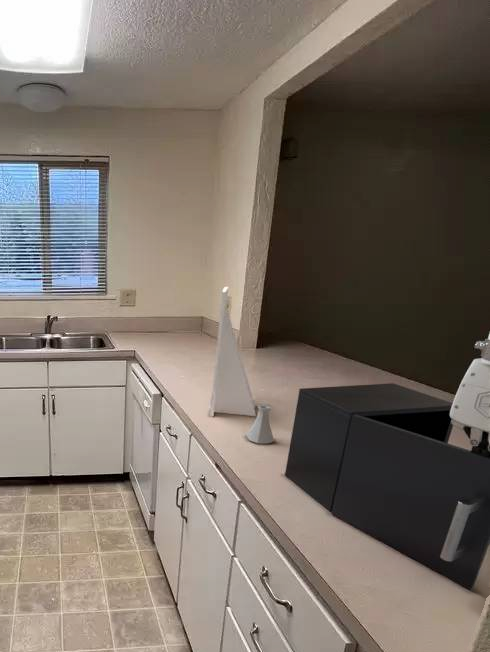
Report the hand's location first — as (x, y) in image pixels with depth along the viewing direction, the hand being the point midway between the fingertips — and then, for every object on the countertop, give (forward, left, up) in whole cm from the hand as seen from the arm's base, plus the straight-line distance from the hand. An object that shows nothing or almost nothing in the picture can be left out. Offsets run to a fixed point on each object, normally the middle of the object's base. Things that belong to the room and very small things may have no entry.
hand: (479, 470), depth 67 cm
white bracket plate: (+38, -72, -19) cm, 84 cm away
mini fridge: (+10, -25, -19) cm, 33 cm away
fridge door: (+9, -2, -18) cm, 20 cm away
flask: (+30, -47, -19) cm, 59 cm away
